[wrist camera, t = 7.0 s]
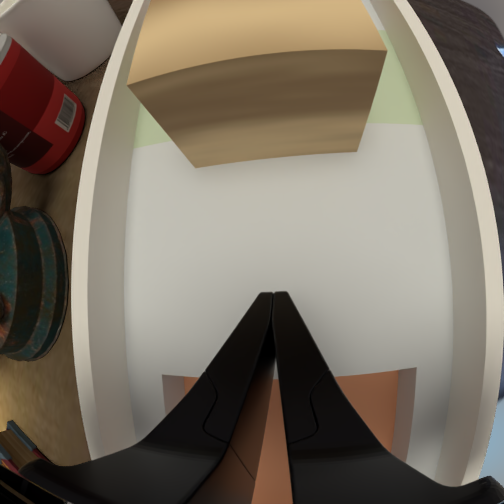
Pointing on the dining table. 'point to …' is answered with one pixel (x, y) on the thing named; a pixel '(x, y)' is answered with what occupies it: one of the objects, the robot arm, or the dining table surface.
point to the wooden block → (258, 76)
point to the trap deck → (297, 265)
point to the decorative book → (17, 449)
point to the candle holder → (62, 33)
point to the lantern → (29, 276)
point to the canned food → (35, 111)
